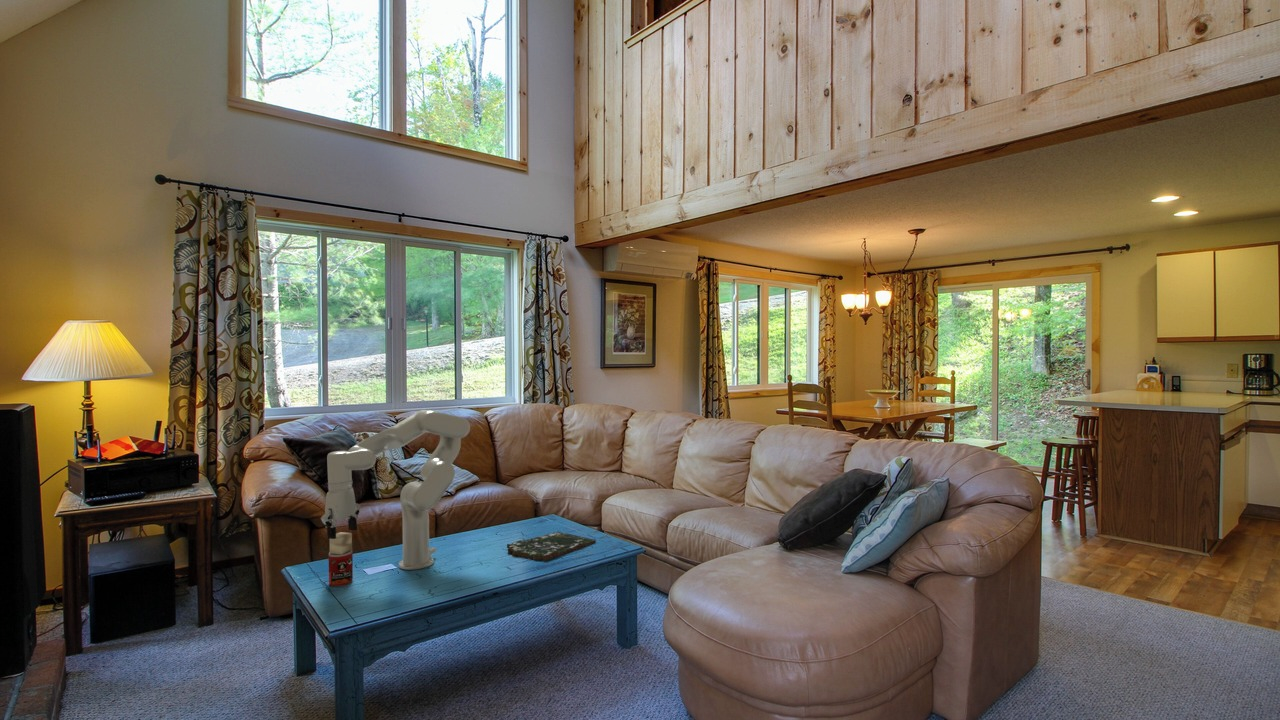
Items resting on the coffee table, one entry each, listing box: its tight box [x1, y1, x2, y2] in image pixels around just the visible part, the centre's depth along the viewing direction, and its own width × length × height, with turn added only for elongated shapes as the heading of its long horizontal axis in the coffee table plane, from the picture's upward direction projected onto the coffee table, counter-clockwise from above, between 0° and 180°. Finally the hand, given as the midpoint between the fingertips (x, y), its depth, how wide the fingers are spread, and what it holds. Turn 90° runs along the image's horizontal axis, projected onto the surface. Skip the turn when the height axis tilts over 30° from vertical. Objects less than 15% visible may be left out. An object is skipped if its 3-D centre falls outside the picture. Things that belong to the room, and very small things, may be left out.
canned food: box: [328, 549, 354, 587], centre depth 214 cm, size 8×8×11 cm
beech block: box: [329, 531, 353, 554], centre depth 214 cm, size 5×5×6 cm
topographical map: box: [506, 531, 597, 563], centre depth 253 cm, size 26×33×3 cm
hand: (342, 534), depth 215 cm, fingers open, 9 cm apart
